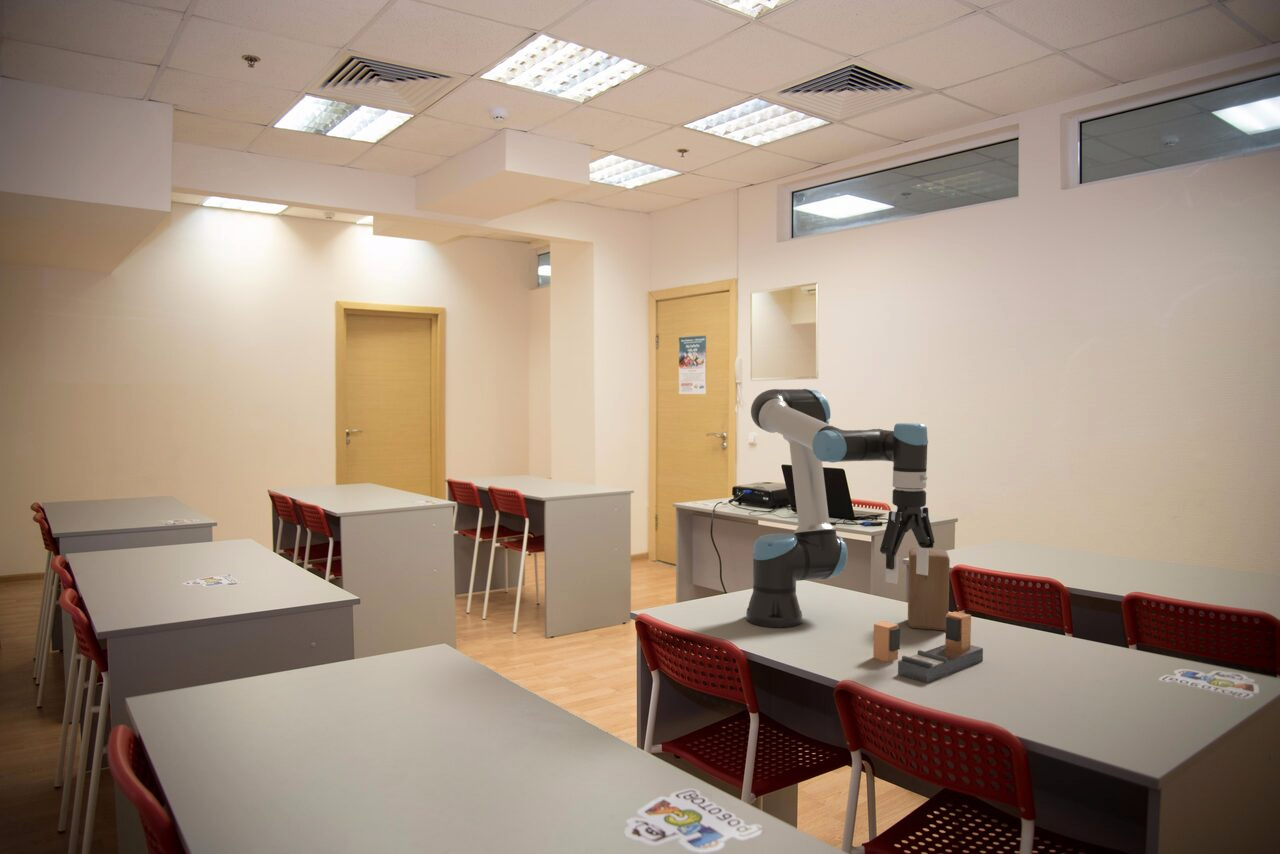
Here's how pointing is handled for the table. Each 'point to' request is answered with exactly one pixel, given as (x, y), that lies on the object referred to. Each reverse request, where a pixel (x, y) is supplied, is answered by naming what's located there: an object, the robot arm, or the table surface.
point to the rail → (944, 653)
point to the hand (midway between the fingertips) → (907, 578)
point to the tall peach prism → (886, 641)
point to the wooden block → (929, 591)
